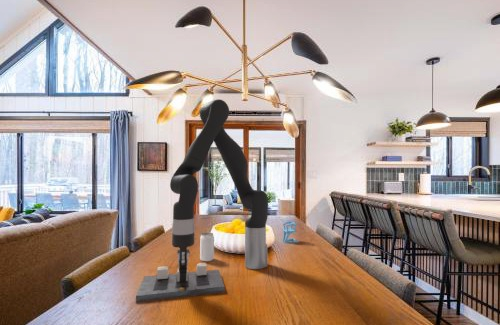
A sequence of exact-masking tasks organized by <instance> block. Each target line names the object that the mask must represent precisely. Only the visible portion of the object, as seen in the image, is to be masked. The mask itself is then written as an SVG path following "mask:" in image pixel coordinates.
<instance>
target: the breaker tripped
mask: <svg viewBox="0 0 500 325" xmlns="http://www.w3.org/2000/svg"><path fill="white" fill-rule="evenodd" d="M176 270H177V271H176V274H177V282H179V281H180V272H179V268H177V269H176ZM188 272H189V270H188V267H187V272H186V281H188Z"/></svg>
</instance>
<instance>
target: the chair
mask: <svg viewBox="0 0 500 325" xmlns="http://www.w3.org/2000/svg"><path fill="white" fill-rule="evenodd" d="M282 225H283V229H282V232H283V237H282V243H284V244H299V241H300V240H297V239H295V238H294V237H292V238H289V236H290V235H292V234H293V233H297V232H298V231H297V230H296V226H297V224H296V222H295V221H287V222H284V223H282ZM293 226H294V227H293ZM289 227H290V228H289Z"/></svg>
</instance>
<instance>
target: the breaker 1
mask: <svg viewBox="0 0 500 325" xmlns="http://www.w3.org/2000/svg"><path fill="white" fill-rule="evenodd" d="M156 269H157V273H156V274H157V279H167V278H168V274H169V266H168V265H167V266H158V267H157V268H156Z"/></svg>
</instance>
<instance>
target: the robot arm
mask: <svg viewBox="0 0 500 325" xmlns="http://www.w3.org/2000/svg"><path fill="white" fill-rule="evenodd" d="M229 115H230V108H229V105H228V104H227V103H226V101H225V100H224V99H213V100H211V101H208V102H205V103H203V104H202V105H201V107H200V109H199V117H200V119H201V122H202V124H203V125H204V126H203V128H202V129H201V130H200V132H199V133H198V135H197V136H196V137H195V139H194V140H193V141H192V142H191V144H190V146H189V148H187V149H188V150H187V152H186V154H185V156H184V159H183V161H182V162H181V163H180V165H179V166H178V167H177V169H176V170H175V172H174V173H173V175H172V177H171V178H170V185H169V186H170V190H171V191H172V193H174V194H177V195H179V196H178V197H179V198H178V201H176V202H174V204H173V208H172V209H173V210H172V211H173V212H172V215H173V216H172V217H173V218H172V227H171V228H172V229H171V231H172V232H171V234H172V236H171V246H172V247H174V248H178V249H177V253H176V258H177V266H178V269H179V272H180V283H186V272H187V268H188V266H189V257H190V249H188V247H190V248H191V247H193V246H194V245H195V209H194V208H195V207H194V206H195V203H196V199H197V196H198V191H199V182H198V179H197V178H196V177H195V175H194V174H196V173H198V172H200V171H201V169H202V168H203V165H204V163H205V160H206V159H207V156H208V153H209V151H210V149H211V147H212V146H213V143H214V144H215V146H216V148H217V150H218V153H219V155H220V156H221V159H222V161H223V163H224V166H225V168H226V170H227V172H228V174H229V176H230V177H231V179H232V182H233V184H234V186H235V189H236V191H237V194H238V196H239V200H240V203H241V205H242V207H243V208H244V209H246V210H248V211H251V215H250V217H249V218H246V219H245V220H244V267H245V268H246V269H249V270H262V269H265V268H268V244H267V237H266V236H267V232H266V231H267V228H266V226H267V221H268V212H269V198H268V195H267V193H266V191H263V190H259V189H253V187H252V186H251V184H250V181H249V179H248V170H249V169H248V166H249V165H248V160H247V158H246V155H245V153H244V151H243V149H242V147H241V146H240V145H239V143H237V141H235V140H234V139H233V138H232V137H231V136H230V135H229V134H228V133H227V132H226V130H225V128H224V125H225V123H226V122H227V120H228V118H229Z"/></svg>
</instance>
